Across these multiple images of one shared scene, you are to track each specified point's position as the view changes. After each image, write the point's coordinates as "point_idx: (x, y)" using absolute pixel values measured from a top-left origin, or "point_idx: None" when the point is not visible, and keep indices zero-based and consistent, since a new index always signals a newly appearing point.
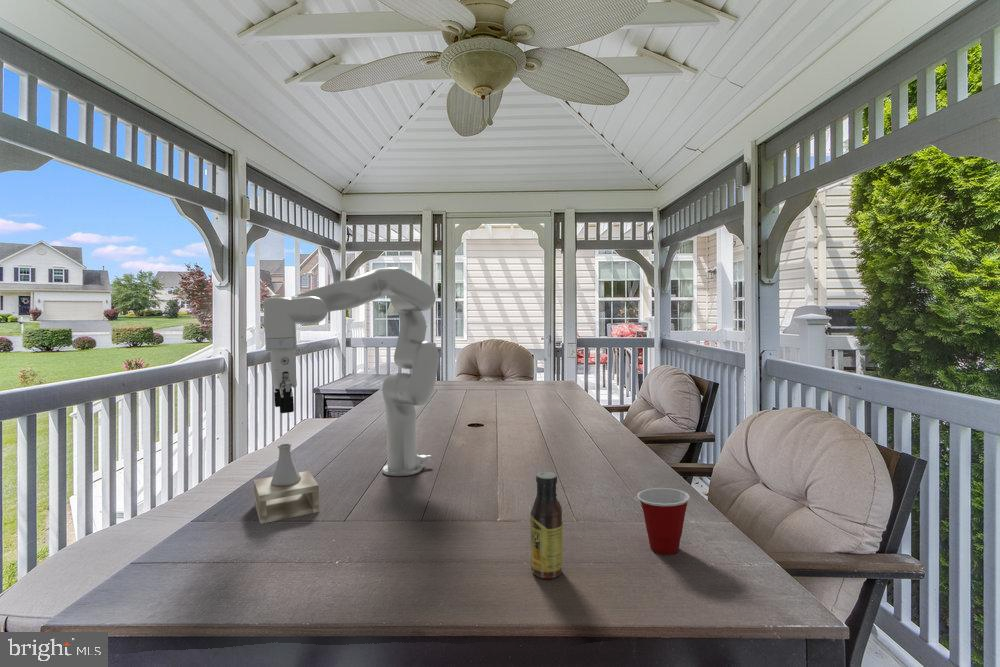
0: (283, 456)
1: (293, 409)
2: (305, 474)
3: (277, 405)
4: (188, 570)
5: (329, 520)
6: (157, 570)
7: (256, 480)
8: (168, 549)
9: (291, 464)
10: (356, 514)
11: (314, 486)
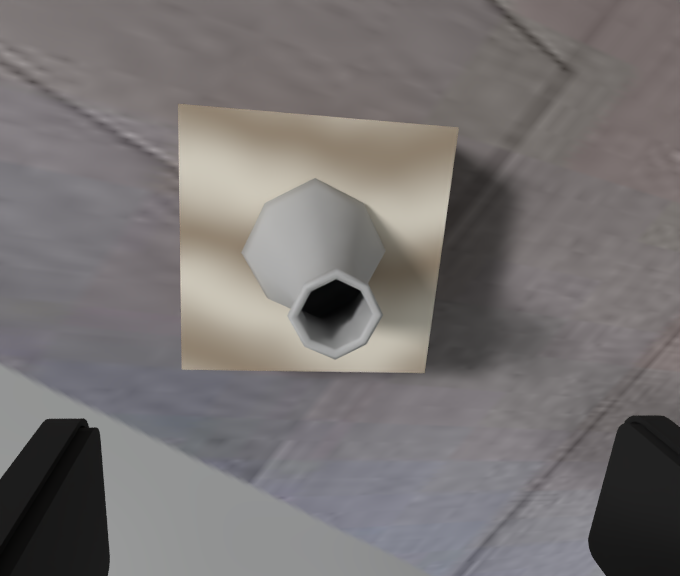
0: (357, 307)
1: (678, 431)
2: (242, 137)
3: (100, 562)
4: (571, 496)
5: (527, 119)
6: (521, 549)
7: (199, 360)
8: (416, 538)
9: (356, 249)
10: (546, 5)
11: (455, 147)
